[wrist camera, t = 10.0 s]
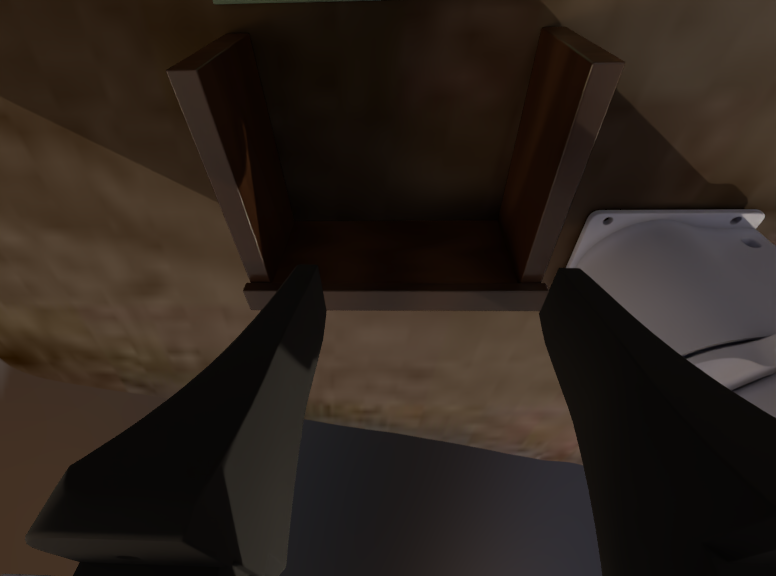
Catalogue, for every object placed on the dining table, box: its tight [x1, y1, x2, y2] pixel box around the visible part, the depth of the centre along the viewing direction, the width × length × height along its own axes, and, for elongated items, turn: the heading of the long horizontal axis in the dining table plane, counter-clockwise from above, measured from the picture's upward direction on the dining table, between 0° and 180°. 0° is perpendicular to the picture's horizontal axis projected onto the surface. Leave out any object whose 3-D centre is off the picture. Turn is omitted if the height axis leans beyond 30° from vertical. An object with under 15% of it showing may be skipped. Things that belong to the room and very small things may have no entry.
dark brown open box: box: [166, 27, 625, 311], centre depth 16 cm, size 14×10×6 cm
